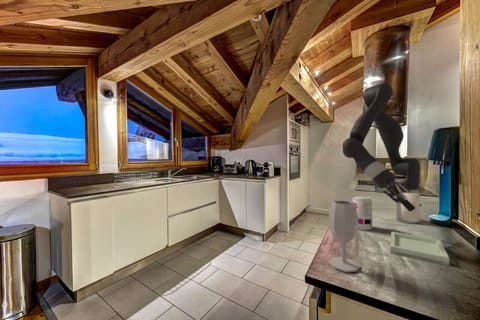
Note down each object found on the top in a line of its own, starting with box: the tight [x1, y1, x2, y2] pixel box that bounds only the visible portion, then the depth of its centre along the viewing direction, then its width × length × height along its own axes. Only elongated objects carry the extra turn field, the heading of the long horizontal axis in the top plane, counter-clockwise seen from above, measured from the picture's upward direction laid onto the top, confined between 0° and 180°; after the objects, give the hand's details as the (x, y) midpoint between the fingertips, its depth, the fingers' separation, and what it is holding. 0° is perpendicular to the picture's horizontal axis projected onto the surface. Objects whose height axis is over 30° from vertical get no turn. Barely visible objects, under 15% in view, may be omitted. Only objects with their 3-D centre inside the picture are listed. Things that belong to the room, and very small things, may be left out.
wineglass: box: [328, 199, 361, 273], centre depth 66 cm, size 9×9×21 cm
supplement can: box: [351, 195, 373, 231], centre depth 99 cm, size 8×8×15 cm
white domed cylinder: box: [401, 192, 421, 223], centre depth 76 cm, size 6×6×10 cm
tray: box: [390, 231, 450, 267], centre depth 76 cm, size 17×15×2 cm
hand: (416, 208), depth 75 cm, fingers closed on white domed cylinder, 5 cm apart
